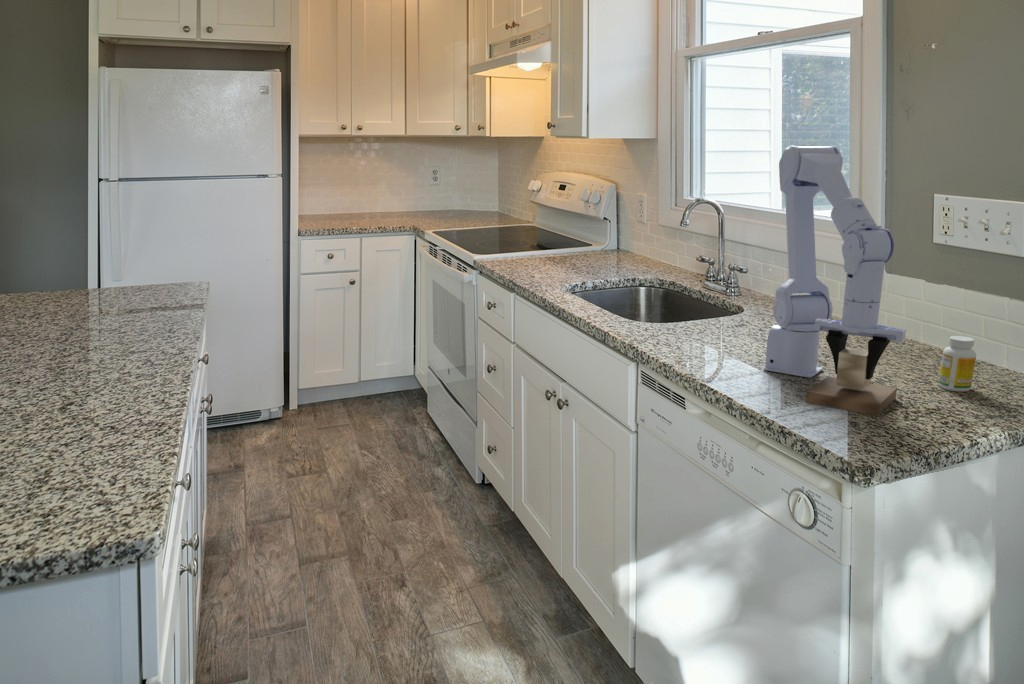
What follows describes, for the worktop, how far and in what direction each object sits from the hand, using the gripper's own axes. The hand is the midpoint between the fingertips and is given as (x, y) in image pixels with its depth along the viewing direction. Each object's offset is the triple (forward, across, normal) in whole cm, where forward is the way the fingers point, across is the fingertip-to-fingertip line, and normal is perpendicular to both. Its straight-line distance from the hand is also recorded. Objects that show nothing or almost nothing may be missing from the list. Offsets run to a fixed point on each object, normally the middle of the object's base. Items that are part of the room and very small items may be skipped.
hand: (853, 375), depth 137 cm
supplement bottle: (+5, +13, +20) cm, 24 cm away
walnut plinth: (+5, 0, 0) cm, 5 cm away
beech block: (+2, 0, 0) cm, 2 cm away
